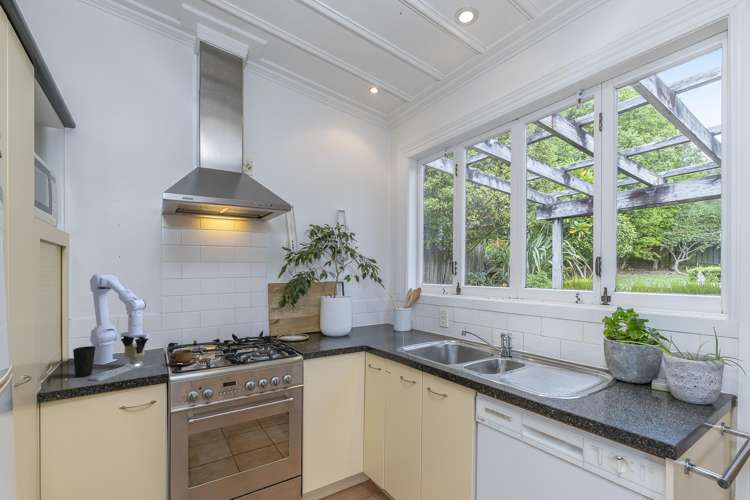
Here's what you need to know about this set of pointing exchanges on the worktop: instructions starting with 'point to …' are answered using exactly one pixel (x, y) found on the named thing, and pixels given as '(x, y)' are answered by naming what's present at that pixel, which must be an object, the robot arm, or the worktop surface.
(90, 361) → the cup
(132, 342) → the robot arm
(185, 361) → the cup and saucer
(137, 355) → the yellowish glass tumbler
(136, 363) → the ratchet
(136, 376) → the worktop surface
